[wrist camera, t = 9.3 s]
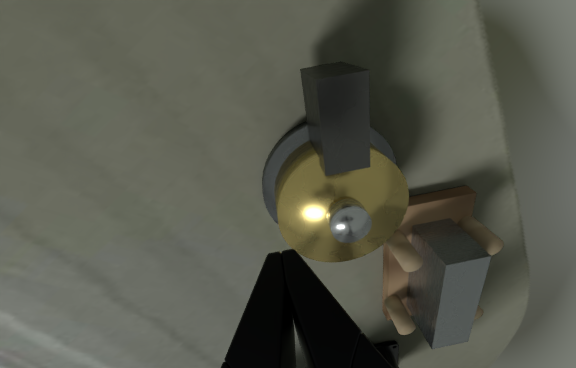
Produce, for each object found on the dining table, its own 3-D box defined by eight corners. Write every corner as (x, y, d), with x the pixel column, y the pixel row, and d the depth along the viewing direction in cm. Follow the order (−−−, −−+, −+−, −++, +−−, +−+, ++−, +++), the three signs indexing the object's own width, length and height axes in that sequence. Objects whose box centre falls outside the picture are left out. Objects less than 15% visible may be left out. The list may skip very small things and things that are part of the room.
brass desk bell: (389, 220, 24) (427, 270, 19) (275, 243, 23) (281, 300, 18) (393, 103, 19) (445, 128, 14) (248, 130, 19) (247, 166, 14)
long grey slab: (437, 297, 28) (467, 341, 24) (406, 304, 28) (431, 349, 24) (450, 217, 23) (491, 256, 19) (412, 225, 23) (446, 265, 19)
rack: (449, 296, 30) (477, 333, 26) (378, 311, 29) (397, 350, 26) (471, 184, 23) (513, 213, 19) (379, 202, 23) (404, 235, 19)
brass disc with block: (387, 223, 22) (415, 263, 18) (284, 244, 22) (291, 288, 18) (391, 52, 16) (435, 57, 12) (249, 78, 16) (248, 92, 12)
